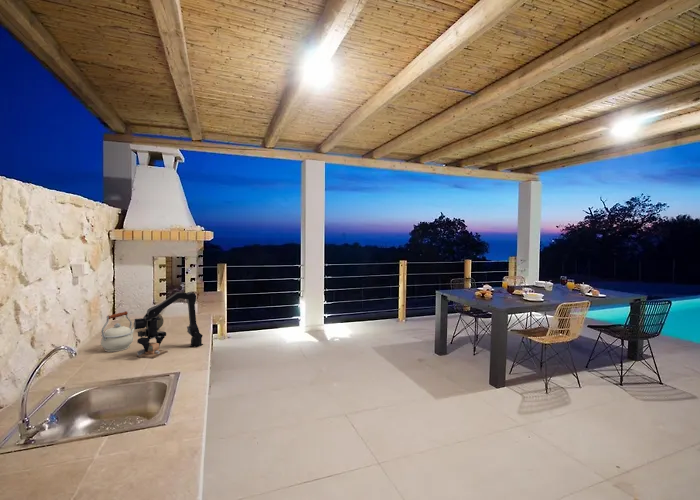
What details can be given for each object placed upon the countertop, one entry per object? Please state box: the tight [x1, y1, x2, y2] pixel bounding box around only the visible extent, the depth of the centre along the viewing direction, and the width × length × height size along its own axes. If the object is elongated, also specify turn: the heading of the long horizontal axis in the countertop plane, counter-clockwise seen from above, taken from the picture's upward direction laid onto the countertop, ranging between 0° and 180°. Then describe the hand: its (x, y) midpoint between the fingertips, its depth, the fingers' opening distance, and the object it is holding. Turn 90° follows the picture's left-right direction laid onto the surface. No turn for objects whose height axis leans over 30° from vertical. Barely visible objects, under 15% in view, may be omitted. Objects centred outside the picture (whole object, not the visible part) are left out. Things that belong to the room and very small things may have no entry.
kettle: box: [100, 311, 135, 353], centre depth 223 cm, size 25×18×25 cm
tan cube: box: [145, 342, 160, 354], centre depth 213 cm, size 6×5×6 cm
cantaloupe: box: [145, 313, 165, 329], centre depth 265 cm, size 14×14×15 cm
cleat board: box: [136, 348, 168, 359], centre depth 213 cm, size 12×12×4 cm
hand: (152, 349), depth 213 cm, fingers open, 9 cm apart
